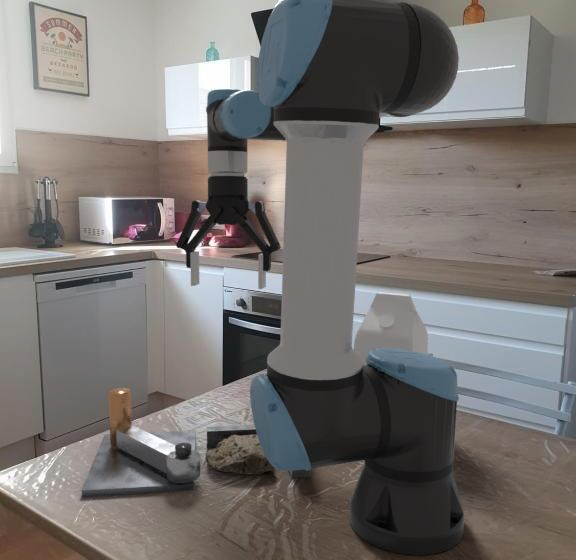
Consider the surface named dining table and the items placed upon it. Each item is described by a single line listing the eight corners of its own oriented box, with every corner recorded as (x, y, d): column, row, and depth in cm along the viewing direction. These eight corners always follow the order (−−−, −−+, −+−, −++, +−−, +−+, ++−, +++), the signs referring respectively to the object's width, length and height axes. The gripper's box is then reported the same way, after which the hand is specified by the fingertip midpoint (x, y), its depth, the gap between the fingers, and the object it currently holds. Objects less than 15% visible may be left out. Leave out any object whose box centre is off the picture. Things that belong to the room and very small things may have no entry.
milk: (427, 426, 112) (434, 292, 108) (411, 449, 102) (417, 302, 98) (368, 415, 118) (372, 286, 114) (346, 436, 108) (350, 295, 104)
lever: (207, 474, 89) (206, 418, 88) (180, 486, 86) (179, 427, 84) (128, 435, 103) (126, 385, 102) (102, 443, 100) (100, 392, 98)
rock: (207, 451, 101) (206, 428, 100) (271, 449, 102) (271, 426, 101) (203, 482, 91) (203, 456, 90) (275, 479, 92) (276, 453, 91)
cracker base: (313, 483, 90) (313, 439, 89) (81, 496, 85) (79, 451, 84) (293, 431, 110) (294, 394, 109) (104, 439, 105) (103, 402, 104)
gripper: (296, 176, 112) (295, 286, 116) (173, 175, 118) (175, 280, 121) (287, 174, 105) (286, 292, 108) (157, 174, 110) (160, 286, 113)
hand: (228, 286), depth 115 cm, fingers open, 13 cm apart
